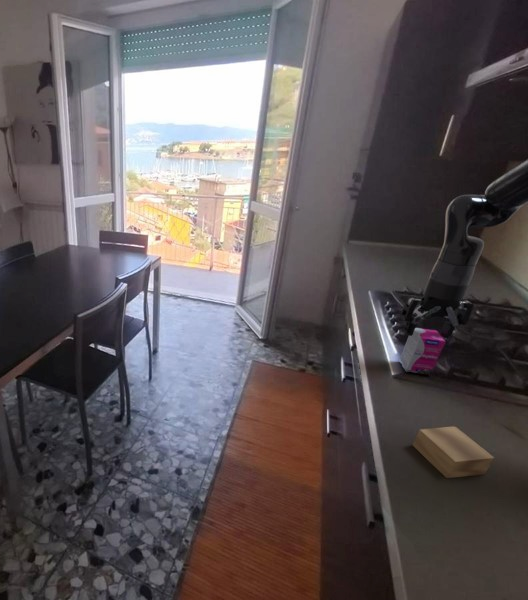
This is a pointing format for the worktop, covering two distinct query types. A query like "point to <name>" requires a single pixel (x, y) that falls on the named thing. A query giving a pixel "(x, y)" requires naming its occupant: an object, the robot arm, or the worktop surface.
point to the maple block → (452, 452)
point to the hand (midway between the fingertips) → (426, 335)
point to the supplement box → (422, 349)
